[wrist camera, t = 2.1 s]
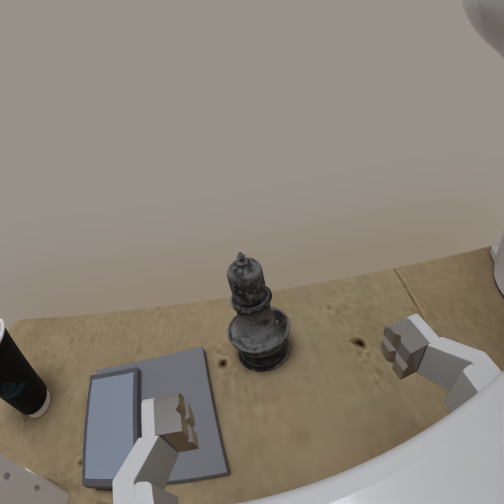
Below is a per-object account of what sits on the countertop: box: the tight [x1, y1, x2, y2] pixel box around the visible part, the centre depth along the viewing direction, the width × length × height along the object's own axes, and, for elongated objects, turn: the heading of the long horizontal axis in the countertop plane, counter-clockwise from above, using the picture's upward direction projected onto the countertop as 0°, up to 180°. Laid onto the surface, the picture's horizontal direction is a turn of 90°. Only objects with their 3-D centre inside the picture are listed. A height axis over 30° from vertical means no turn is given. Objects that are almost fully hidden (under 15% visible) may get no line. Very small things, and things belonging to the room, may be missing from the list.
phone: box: [82, 367, 142, 489], centre depth 21 cm, size 6×13×1 cm, turn 14°
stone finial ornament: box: [227, 252, 290, 372], centre depth 26 cm, size 6×6×12 cm
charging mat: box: [96, 346, 230, 484], centre depth 23 cm, size 13×14×1 cm
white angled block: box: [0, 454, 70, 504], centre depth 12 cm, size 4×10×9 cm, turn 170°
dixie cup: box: [0, 319, 51, 418], centre depth 22 cm, size 8×8×11 cm
